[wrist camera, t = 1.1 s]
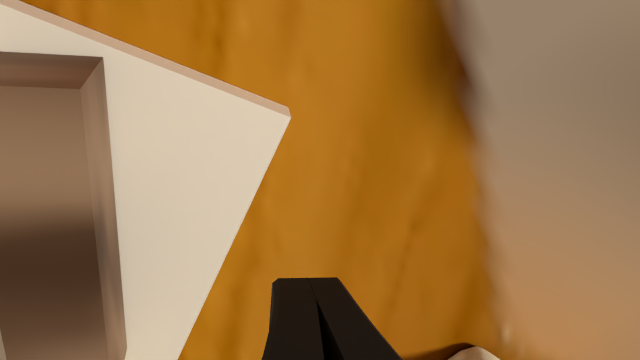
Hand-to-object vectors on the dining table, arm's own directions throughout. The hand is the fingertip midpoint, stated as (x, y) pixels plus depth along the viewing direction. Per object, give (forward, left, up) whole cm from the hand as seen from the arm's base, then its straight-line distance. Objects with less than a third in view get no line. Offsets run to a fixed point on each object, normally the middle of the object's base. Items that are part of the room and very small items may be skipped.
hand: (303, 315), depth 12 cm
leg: (-5, +5, -8) cm, 11 cm away
